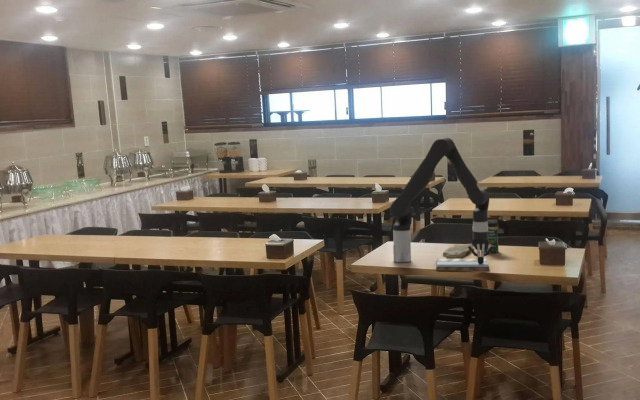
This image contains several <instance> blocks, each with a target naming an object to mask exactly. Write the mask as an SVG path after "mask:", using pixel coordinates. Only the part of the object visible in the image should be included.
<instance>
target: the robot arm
mask: <svg viewBox="0 0 640 400" xmlns="http://www.w3.org/2000/svg"><path fill="white" fill-rule="evenodd" d="M444 157H445V158H447V159H448V160H449V163H450V164H451V165H452V169H454V173H455V176H456V177H457V179H458V181H459V183H460V184H461V186H462V187H463V188H464V189H465V192H466V194H467V196H468V198H469V201H471V203H472V204H474V205H475V208H474V210H473V211H472V227H471V228H472V241H471V243H470V244H471V245H468V248H469V250H470V251H469V252H471V254H472V255H474V257H477V259H478V263H479V264H482V263H484V259H485V257H488V256H489V254H491V253H490V252H491V250H492V249H493V246H492V245H490V244H489V241H488V220H489V219H488V210H489V205H490V194H489V193H488V192H487V190H485V189H480V188H479V186H478V180H477V179H476V177H475V176H474V175H473V173H472V172H471V170H470V168H469V167H468V166H467V165H466V163H465V161H464V160H463V158H462V155H461V154H460V151H458V148H457V146H456V144H455V142H454V140H453V139H451V137H450V138H449V137H440V138H436V139H435V140H434V142H433V143H432V145H431V147H430V148H429V150H428V152H427V153H426V156H425V157H424V159H423V160H422V162H421V163H420V164H419V166H418V167H417V168H416V170H415V171H414V172H413V174H412V176H411V177H410V178H409V180H408V182H407V183H406V185H405V186H404V188H403V189H402V191H401V193H399V195H398V196H397V197H396V198H395V200H394V201H392V203H391V204H390V207H389V213H390V215H391V216H392V218H395V219H396V220H395V222H394V223H393V225H392V233H393V234H392V235H393V236H392V237H393V244H392V245H393V246H392V247H393V249H392V250H393V253H392V254H393V263H395V262H396V263H410V262H412V248H411V247H412V246H411V245H412V244H411V243H412V242H411V225H412V223H413V220H412V218H413V215H412V214H413V209H412V205H411V203H412V201H413V200H414V199H416V197H418V195H420V194H421V193H422V192H423V191H424V190H425V189H426V188H427V186H428V185H429V184H430V182H431V180H432V179H433V177H434V174H435V170H436V167H437V165H438V164H439V163H440V161H441V160H442V159H443V158H444ZM487 247H488V248H489V249H488V250H487V251H486V252H485V253H484V250H485V249H486V248H487ZM475 250H476V251H475Z"/></svg>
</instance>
